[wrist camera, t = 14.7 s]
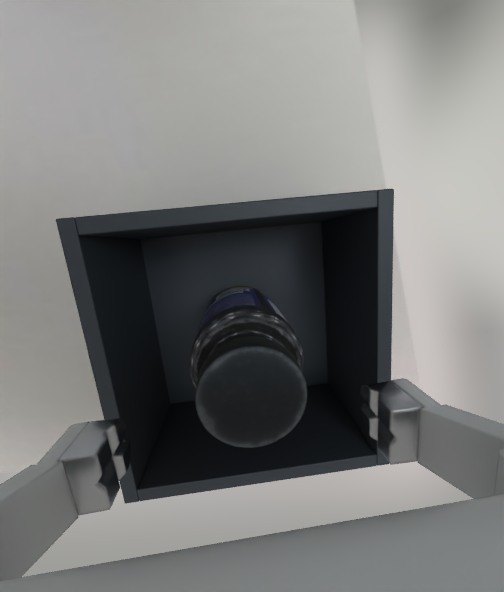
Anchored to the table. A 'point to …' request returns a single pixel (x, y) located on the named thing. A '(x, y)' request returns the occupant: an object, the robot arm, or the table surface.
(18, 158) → the table surface
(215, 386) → the pill bottle
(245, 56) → the table surface
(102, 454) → the robot arm
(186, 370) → the open square box
